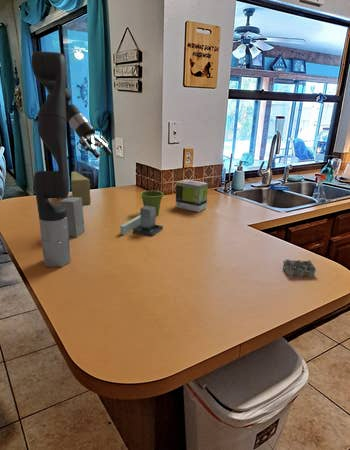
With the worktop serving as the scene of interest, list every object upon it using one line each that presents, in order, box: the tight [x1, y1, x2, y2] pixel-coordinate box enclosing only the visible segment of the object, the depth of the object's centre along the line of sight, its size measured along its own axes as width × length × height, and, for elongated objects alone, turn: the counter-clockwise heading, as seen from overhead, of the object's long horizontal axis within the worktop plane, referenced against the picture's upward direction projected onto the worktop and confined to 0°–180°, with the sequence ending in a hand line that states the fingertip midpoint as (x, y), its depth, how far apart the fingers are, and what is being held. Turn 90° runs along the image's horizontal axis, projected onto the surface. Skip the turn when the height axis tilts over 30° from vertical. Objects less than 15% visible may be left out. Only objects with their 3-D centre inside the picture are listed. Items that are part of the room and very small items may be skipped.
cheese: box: [70, 171, 92, 206], centre depth 193 cm, size 22×10×15 cm, turn 26°
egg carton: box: [282, 259, 317, 278], centre depth 122 cm, size 11×8×4 cm
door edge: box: [119, 214, 140, 236], centre depth 157 cm, size 20×2×4 cm, turn 155°
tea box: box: [175, 179, 209, 213], centre depth 187 cm, size 15×10×15 cm, turn 58°
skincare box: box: [59, 196, 85, 238], centre depth 146 cm, size 8×7×16 cm
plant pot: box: [140, 190, 164, 216], centre depth 175 cm, size 12×12×11 cm
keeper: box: [132, 224, 164, 237], centre depth 155 cm, size 10×10×2 cm
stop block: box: [139, 205, 156, 232], centre depth 153 cm, size 5×5×11 cm
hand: (104, 155), depth 147 cm, fingers open, 8 cm apart
